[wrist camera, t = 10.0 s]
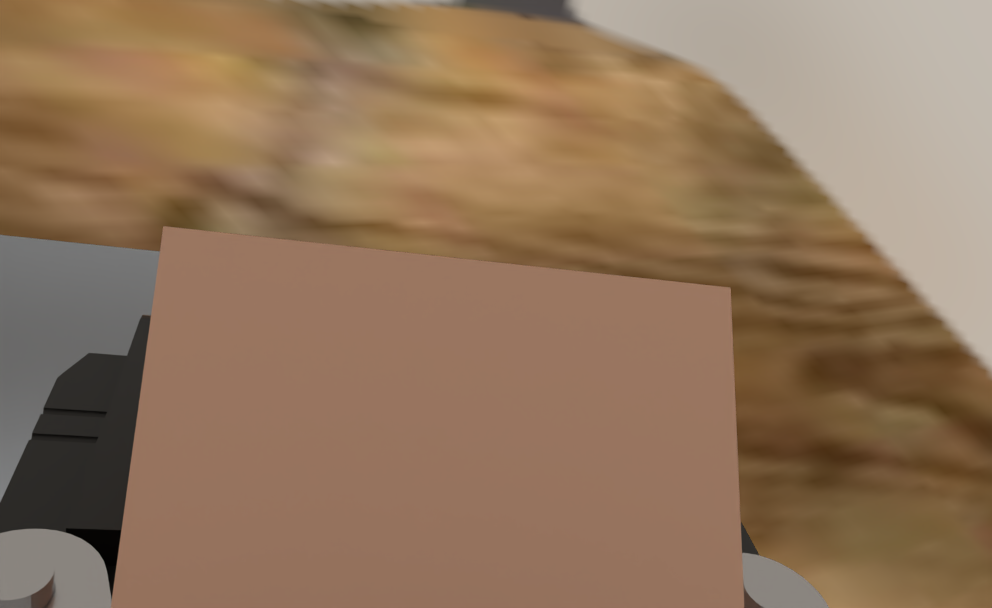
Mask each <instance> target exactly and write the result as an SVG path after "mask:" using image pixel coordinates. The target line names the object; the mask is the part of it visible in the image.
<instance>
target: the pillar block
mask: <svg viewBox="0 0 992 608" xmlns="http://www.w3.org/2000/svg"><path fill="white" fill-rule="evenodd" d="M111 608H744V587H743V564H742V541H741V518H740V495H739V471H738V448H737V425H736V402H735V379H734V356H733V332H732V309H731V288H729V287H720V286H711V285H702V284H692V283H683V282H674V281H665V280H656V279H646V278H637V277H628V276H619V275H609V274H600V273H591V272H582V271H572V270H563V269H554V268H545V267H535V266H526V265H517V264H508V263H499V262H489V261H480V260H471V259H462V258H452V257H443V256H434V255H425V254H415V253H406V252H397V251H388V250H378V249H369V248H360V247H351V246H342V245H332V244H323V243H314V242H305V241H295V240H286V239H277V238H268V237H258V236H249V235H240V234H231V233H221V232H212V231H203V230H194V229H185V228H175V227H166V226H163V233H162V240H161V247H160V254H159V262H158V269H157V276H156V283H155V291H154V298H153V305H152V312H151V320H150V327H149V334H148V341H147V349H146V356H145V363H144V370H143V378H142V385H141V392H140V399H139V407H138V414H137V421H136V428H135V436H134V443H133V450H132V457H131V464H130V472H129V479H128V486H127V493H126V501H125V508H124V515H123V522H122V530H121V537H120V544H119V551H118V559H117V566H116V573H115V580H114V588H113V595H112V602H111Z"/></svg>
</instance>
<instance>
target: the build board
mask: <svg viewBox="0 0 992 608" xmlns="http://www.w3.org/2000/svg"><path fill="white" fill-rule="evenodd" d="M159 254H160V251H150V250H140V249H131V248H121V247H112V246H102V245H92V244H83V243H73V242H64V241H54V240H44V239H35V238H25V237H16V236H6V235H0V502H1V500H2V497H3V495H4V493H5V491H6V489H7V486H8V484H9V482H10V480H11V478H12V476H13V473H14V471H15V469H16V467H17V465H18V462H19V460H20V458H21V456H22V454H23V451H24V449H25V447H26V445H27V443H28V441H29V440H31V438H32V432H33V430H34V427H35V425H36V423H37V421H38V419H39V416H40V414H43V408H44V406H45V403H46V401H47V399H48V397H49V395H50V392H51V390H52V388H53V386H54V384H55V381H56V379H57V377H58V376H60V375H61V374H62V373H64V372H65V371H66V370H67V369H69V368H70V367H71V366H73V365H74V364H75V363H76V362H78V361H79V360H80V359H82V358H83V357H84V356H85V355H87V354H88V353H98V354H111V355H124V356H127V354H128V351H129V349H130V346H131V343H132V340H133V337H134V334H135V332H136V329H137V326H138V323H139V320H140V318H141V316H142V315H151V312H152V305H153V298H154V291H155V283H156V276H157V269H158V262H159Z"/></svg>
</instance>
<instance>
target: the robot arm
mask: <svg viewBox="0 0 992 608" xmlns="http://www.w3.org/2000/svg"><path fill="white" fill-rule="evenodd" d="M150 320H151V315H142V316H141V318H140V320H139V323H138V326H137V329H136V332H135V334H134V337H133V340H132V343H131V346H130V349H129V351H128V354H127V356H124V355H111V354H98V353H88V354H87V355H85V356H84V357H83V358H82V359H80V360H79V361H78V362H76V363H75V364H74V365H73V366H71V367H70V368H69V369H67V370H66V371H65V372H64V373H62V374H61V375H60V376H58V377H57V379H56V381H55V384H54V386H53V388H52V390H51V392H50V395H49V397H48V399H47V401H46V403H45V406H44V408H43V414H40V416H39V419H38V421H37V423H36V425H35V427H34V430H33V432H32V438H31V440H29V441H28V443H27V445H26V447H25V449H24V451H23V454H22V456H21V458H20V460H19V462H18V465H17V467H16V469H15V471H14V473H13V476H12V478H11V480H10V482H9V484H8V486H7V489H6V491H5V493H4V495H3V497H2V500H1V502H0V608H111V602H112V595H113V588H114V580H115V573H116V566H117V559H118V551H119V544H120V537H121V530H122V522H123V515H124V508H125V501H126V493H127V486H128V479H129V472H130V464H131V457H132V450H133V443H134V436H135V428H136V421H137V414H138V407H139V399H140V392H141V385H142V378H143V370H144V363H145V356H146V349H147V341H148V334H149V327H150ZM741 541H742V564H743V587H744V608H829V607H828V605H827V603H826V602H825V600H824V599H823V598H822V596H821V595H820V594H819V592H818V591H817V590H816V589H815V588H814V587H813V586H812V585H811V584H810V583H809V582H808V581H806V580H805V579H804V578H803V577H802V576H800V575H799V574H797V573H796V572H794V571H793V570H792V569H790V568H788V567H786V566H784V565H783V564H781V563H778V562H776V561H774V560H771V559H769V558H766V557H762V556H759V554H758V552H757V550H756V548H755V546H754V545H753V543H752V541H751V539H750V537H749V535H748V534H747V532H746V530H745V528H744V526H743V524H742V523H741Z"/></svg>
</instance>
